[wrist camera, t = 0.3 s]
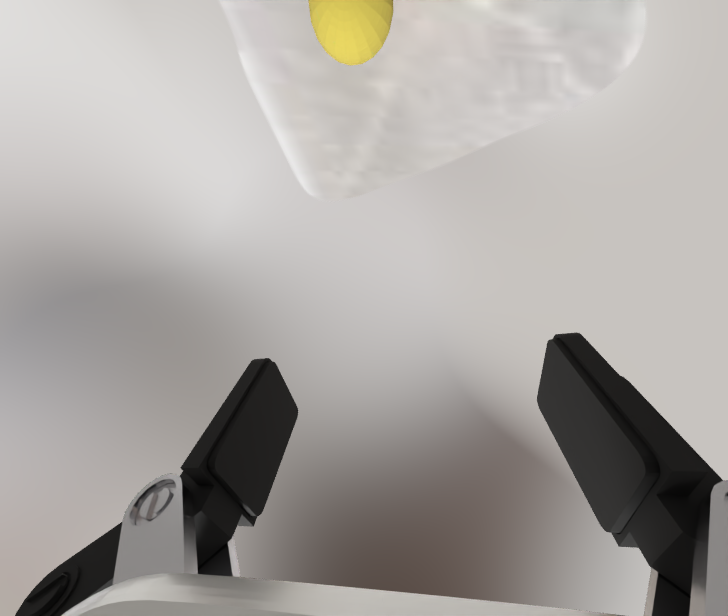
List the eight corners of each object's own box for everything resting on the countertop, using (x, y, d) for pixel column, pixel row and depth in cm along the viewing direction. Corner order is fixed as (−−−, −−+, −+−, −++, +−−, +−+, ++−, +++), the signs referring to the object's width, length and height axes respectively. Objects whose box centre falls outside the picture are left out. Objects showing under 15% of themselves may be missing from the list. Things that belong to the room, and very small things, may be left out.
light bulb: (319, 2, 26) (282, -64, 18) (387, -26, 25) (382, -113, 16) (338, 87, 29) (314, 67, 21) (399, 67, 28) (400, 36, 20)
